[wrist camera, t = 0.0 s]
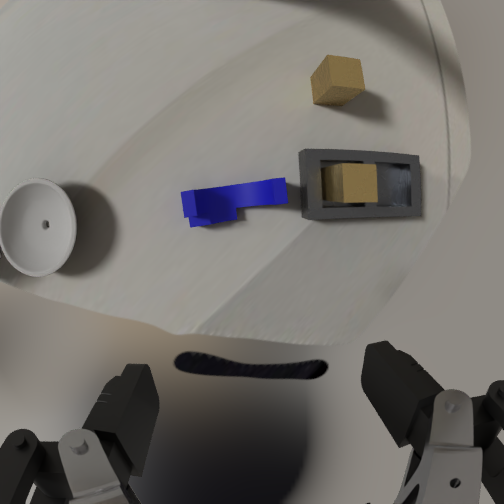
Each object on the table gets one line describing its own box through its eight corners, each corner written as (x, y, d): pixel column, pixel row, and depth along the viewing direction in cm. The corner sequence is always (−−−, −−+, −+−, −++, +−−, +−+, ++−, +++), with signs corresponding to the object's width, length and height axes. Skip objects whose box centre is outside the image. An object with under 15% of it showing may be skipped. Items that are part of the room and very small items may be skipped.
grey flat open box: (298, 152, 36) (304, 148, 33) (406, 157, 37) (419, 155, 34) (301, 217, 38) (308, 219, 35) (408, 213, 39) (420, 215, 36)
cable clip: (193, 224, 38) (186, 230, 32) (188, 192, 37) (180, 191, 31) (280, 212, 38) (289, 215, 32) (276, 179, 37) (284, 177, 31)
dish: (87, 167, 35) (70, 165, 30) (99, 263, 38) (84, 272, 33) (11, 191, 34) (-7, 192, 29) (23, 272, 37) (6, 280, 32)
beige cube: (320, 168, 37) (342, 163, 29) (349, 168, 37) (376, 164, 29) (321, 200, 37) (343, 202, 30) (350, 199, 38) (377, 202, 30)
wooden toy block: (310, 77, 34) (327, 54, 26) (338, 79, 34) (359, 59, 27) (313, 104, 35) (332, 85, 27) (341, 105, 35) (365, 89, 28)
